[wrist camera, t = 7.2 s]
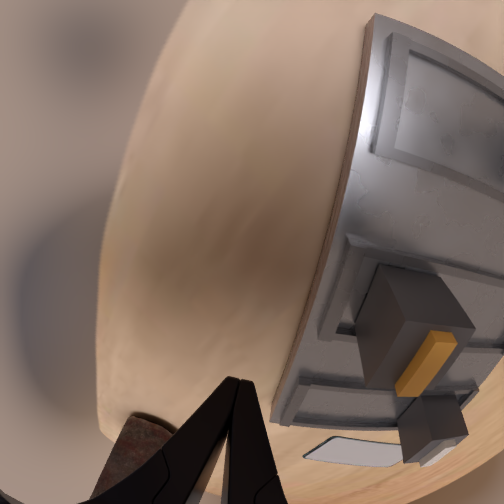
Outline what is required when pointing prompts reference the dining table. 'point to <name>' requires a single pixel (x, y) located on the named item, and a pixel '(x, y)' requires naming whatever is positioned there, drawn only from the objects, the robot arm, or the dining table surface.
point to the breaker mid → (409, 331)
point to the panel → (406, 224)
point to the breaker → (431, 429)
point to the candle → (131, 451)
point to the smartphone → (356, 452)
